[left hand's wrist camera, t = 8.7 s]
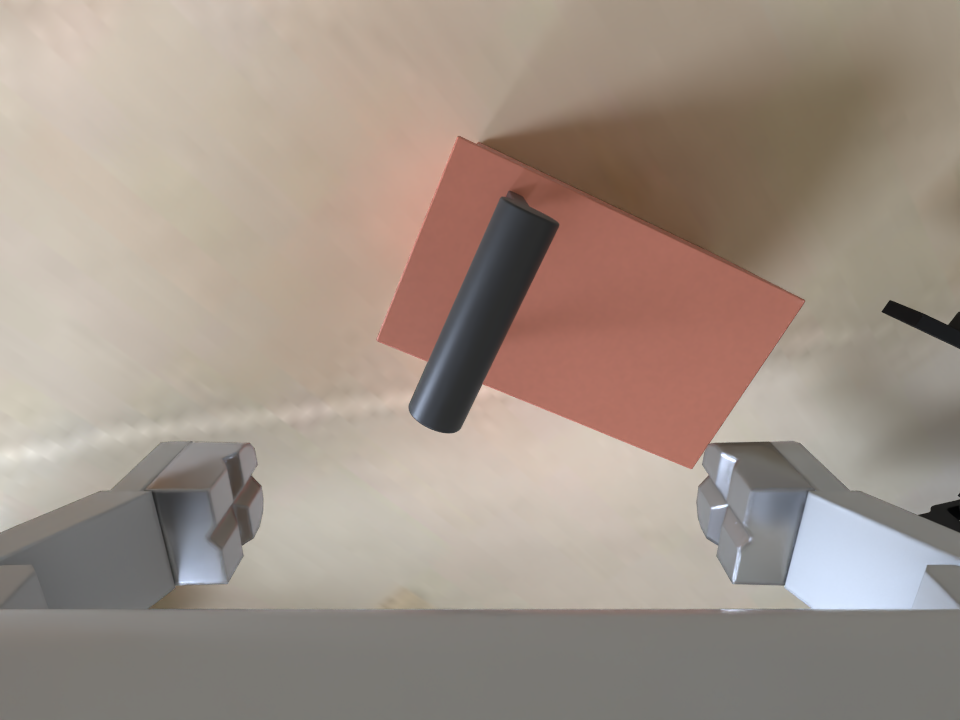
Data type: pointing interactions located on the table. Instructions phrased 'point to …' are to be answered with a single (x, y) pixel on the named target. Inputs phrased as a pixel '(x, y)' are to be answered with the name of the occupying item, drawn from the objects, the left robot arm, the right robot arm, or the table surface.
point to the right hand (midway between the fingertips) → (825, 415)
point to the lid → (575, 312)
